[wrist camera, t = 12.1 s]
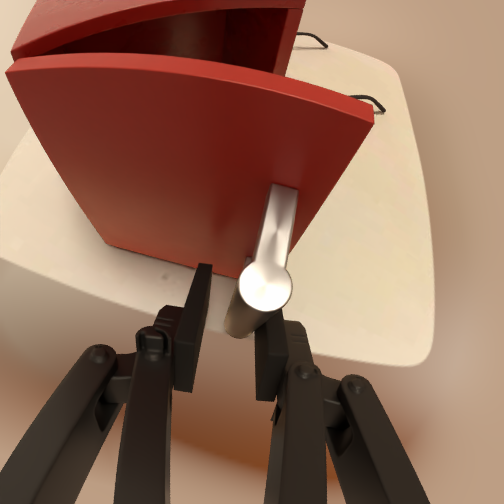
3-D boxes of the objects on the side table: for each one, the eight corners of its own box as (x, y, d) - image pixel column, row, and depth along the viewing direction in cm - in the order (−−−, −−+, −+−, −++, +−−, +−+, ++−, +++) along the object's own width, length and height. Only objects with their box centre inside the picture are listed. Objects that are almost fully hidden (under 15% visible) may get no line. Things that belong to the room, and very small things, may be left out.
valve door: (254, 348, 19) (375, 290, 5) (85, 300, 19) (-71, 175, 5) (269, 275, 21) (373, 104, 7) (109, 233, 21) (17, 58, 7)
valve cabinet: (255, 187, 24) (308, -5, 9) (106, 233, 21) (9, 51, 6) (222, 119, 26) (241, -45, 12) (94, 155, 23) (40, -7, 9)
